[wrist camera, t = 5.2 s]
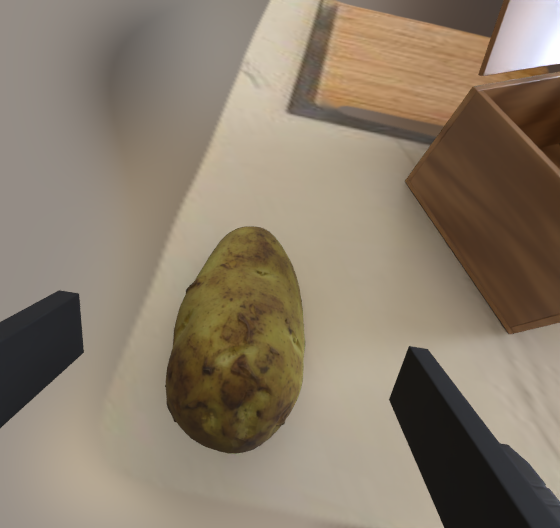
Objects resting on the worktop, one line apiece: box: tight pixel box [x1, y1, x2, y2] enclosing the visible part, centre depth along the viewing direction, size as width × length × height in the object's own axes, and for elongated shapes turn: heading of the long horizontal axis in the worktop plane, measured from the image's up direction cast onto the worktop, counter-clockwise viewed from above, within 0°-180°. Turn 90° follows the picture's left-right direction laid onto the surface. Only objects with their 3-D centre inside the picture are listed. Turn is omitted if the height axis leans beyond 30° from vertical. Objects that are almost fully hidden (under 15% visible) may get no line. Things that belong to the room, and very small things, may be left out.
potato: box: [165, 227, 305, 453], centre depth 17 cm, size 8×13×8 cm, turn 157°
